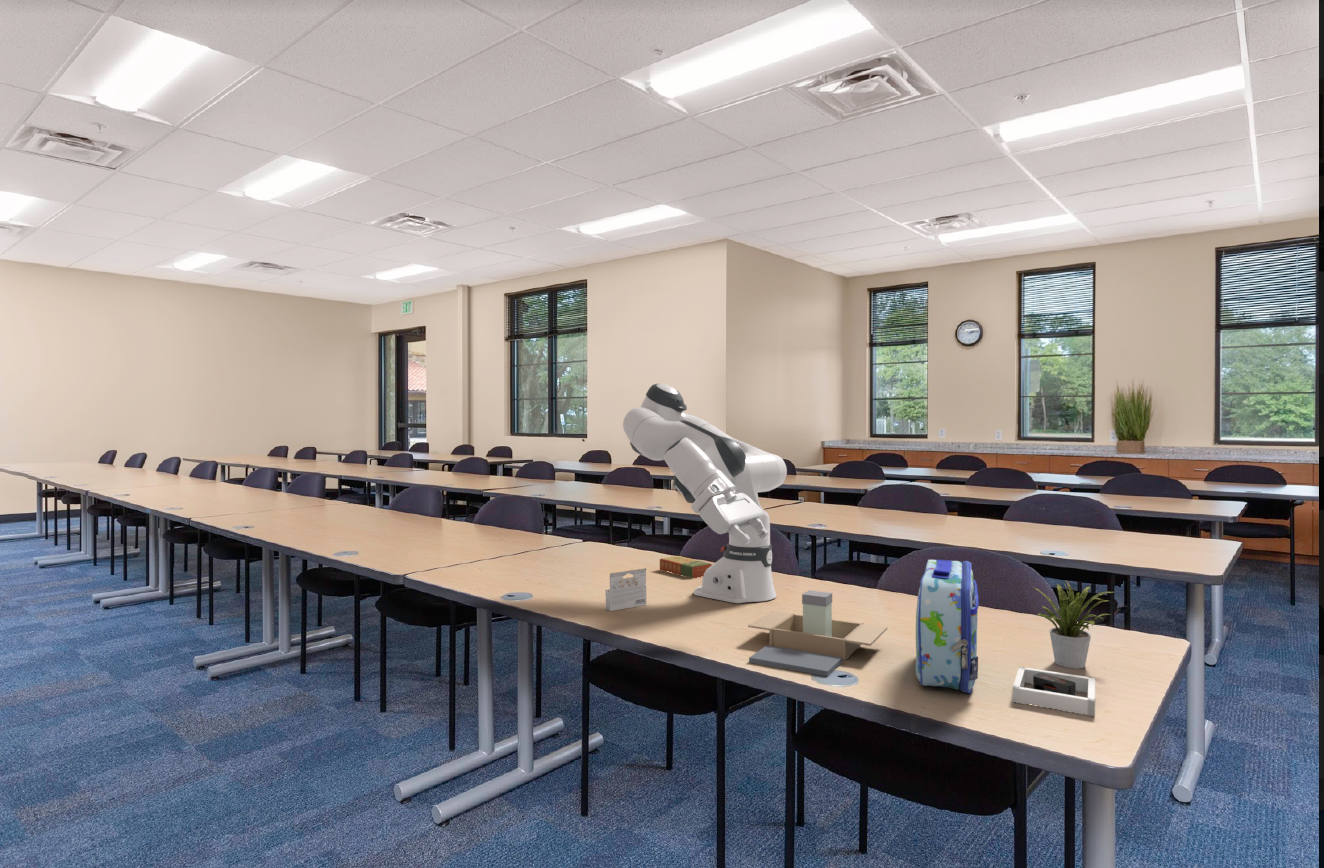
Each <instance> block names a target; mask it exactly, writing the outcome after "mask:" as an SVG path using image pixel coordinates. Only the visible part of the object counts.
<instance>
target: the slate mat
mask: <svg viewBox="0 0 1324 868" xmlns="http://www.w3.org/2000/svg"><path fill="white" fill-rule="evenodd" d="M748 661H749V664H755V665H762V666H768V667H771V668H772V667H773V668H778V669H785V670H788V671H789V670H790V671H793V672H794V671H795V672H801V673H806V674H811V675H817V676H824V677H829V676H830V675H831V674H832V673H833V672H834V671H835V670H836V669H837V668H838V667H840V666H841V665H842V664H843V660H842V657H836V656H830V655H824V654H818V653H812V652H806V651H799V650H793V649H787V648H781V647H775V646H769V644H768V645H767V644H766V645H765V646H764V647H762V648H761V649H759V650H758V651H756V652H755V653H754V654H752V655H751V656H749V657H748Z"/></svg>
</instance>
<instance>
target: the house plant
mask: <svg viewBox="0 0 1324 868" xmlns="http://www.w3.org/2000/svg"><path fill="white" fill-rule="evenodd" d="M1062 582H1063V584H1064V586H1065V589H1066V591H1067V593H1066V592H1065V590H1064V589H1063V587H1062V586H1061V585H1060V584H1058V583H1056V588H1057V593H1058V601H1059V608H1058V606H1057V605H1056V604H1055V602H1054V601H1053V600H1052V598H1051V597H1049V596H1048V595H1046V594H1045V593H1044V592H1043V591H1041V590H1040V589H1038V588H1037V587H1033V586H1032V588H1033V589H1035V590H1037V591H1038V592H1039V593H1041V594H1042V595H1043V596H1044V597H1045V598H1046V600H1048V602H1049V603H1050V605H1051V606H1052V607H1053V609H1054V611H1055V612H1056V613H1054V612H1053V611H1052V610H1050V608H1048V607H1046V606H1044V605H1041V608H1043V609H1044V610H1045V612H1046V613H1047V614H1044V613H1037V614H1035V615H1038V616H1040V617H1043V618H1044V619H1046V620H1048V621H1049V622H1051V623H1052V624H1053V625H1054V627H1052V628H1050V629H1049V637H1050V642H1051V647H1052V653H1053V659H1054V663H1055V664H1056V665H1057V666H1060V667H1064V668H1066V669H1067V668H1068V669H1073V670H1074V669H1078V670H1079V669H1084V668H1086V663H1087V657H1088V653H1089V647H1090V642H1091V636H1092V635H1091V633H1090V632H1088V631H1090V627H1089V625H1091V627H1093V626H1094V625H1095V623H1096V622H1095V620H1097V619H1098V618H1100V619H1102V620H1104V618H1103V617H1102V616H1106V615H1107V616H1109V615H1111V613H1101V614H1099V615H1095V614H1091V613H1090V612H1091V611H1092V610H1093V609H1094V608H1095V607H1096V606H1098V605H1100V604H1101V603H1103V602H1109V600H1106V599H1104V598H1103V599H1102V598H1100V597H1099V596H1102V595H1105V594H1111V593H1113V591H1102V592H1099V593H1096V594H1095V595H1092V596H1091V597H1090V598H1089V599H1088V600H1087V601H1086V602H1085V603H1084V601H1085V600H1086V598H1087V595H1088V594H1089V589H1091V585H1090V586H1089V585H1088V586H1087V587H1085V588H1084V589H1083V590H1082V591H1081V593H1080V592H1077V593H1075V594H1074V590H1073V588H1072V586H1071V584H1070V583H1069V582H1068V581H1067V580H1065V582H1066V583H1065V582H1064V581H1062ZM1094 600H1098V601H1097V602H1095V603H1094V604H1093V605H1092V606H1091V607H1090V608H1089V609H1088V611H1087V612H1086V613H1085V614H1084V616H1082V617H1081V618H1080V616H1081V615H1082V614H1083V612H1084V611H1085V610H1086V609H1087V607H1088V606H1089V605H1090V604H1091V603H1092V602H1093V601H1094ZM1099 600H1100V601H1099ZM1089 613H1090V614H1089ZM1056 614H1057V615H1058V616H1057V615H1056ZM1091 617H1093V618H1091ZM1079 618H1080V619H1079ZM1088 618H1091V620H1087V619H1088ZM1085 623H1086V624H1085ZM1085 629H1087V630H1088V631H1086V630H1085Z"/></svg>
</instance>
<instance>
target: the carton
mask: <svg viewBox="0 0 1324 868" xmlns="http://www.w3.org/2000/svg"><path fill="white" fill-rule="evenodd" d="M712 565H713V564H712V563H710V562H706V561H701V560H697V559H693V558H689V557H684V556H681V555H676V556H670V557H669V556H668V557H663V558H660V559H659V571H660V570H663V571H669V572H672V573H674V574H673V575H675V574H678V575H677V576H679V575H683V576H686V577H685V578H687V577H689V579H691V578H695V579H698V578H697V577H700V578H702V577H701V576H704V573H705V571H706V570H707V569H708V568H709V567H711V566H712ZM663 571H662V572H663ZM683 576H682V577H683Z"/></svg>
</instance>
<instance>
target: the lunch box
mask: <svg viewBox="0 0 1324 868" xmlns="http://www.w3.org/2000/svg"><path fill="white" fill-rule="evenodd" d="M979 604H980V603H979V593H978V584H977V581H976V580H975V579H974V573H973V570H972V562H970V561H968V560H964V561H960V560H951V559H949V560H945V559H928V560H927V562H926V565H925V570H924V573H923V575H922V577H921V579H920V586H919V589H918V593H917V602H916V609H915V610H916V612H915V613H916V614H915V656H916V658H915V676H916V678H917V679H918V682H919V684H920V685H921V686H924V687H925V686H926V687H927V686H931V687H941V688H949V689H952V690H957V691H960V692H963V693H965V694H972V691H973V688H974V686H975V684H976V680H977V679H978V678H979V677H978V676H979V674H978V673H979V672H978V671H979V656H977V651H978V650H977V649H978V609H979V606H980V605H979Z"/></svg>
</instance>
